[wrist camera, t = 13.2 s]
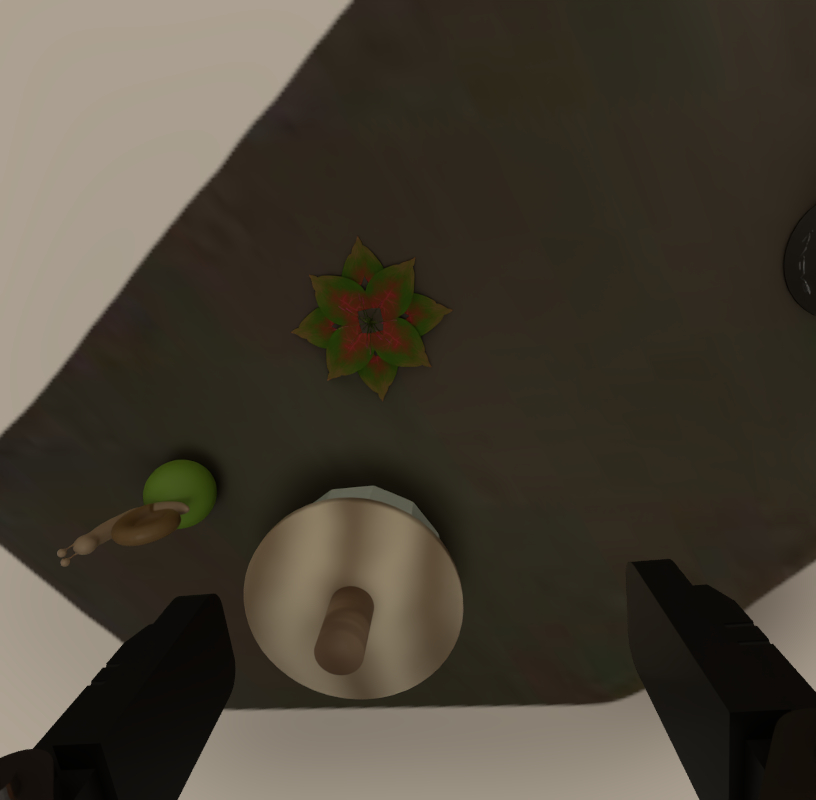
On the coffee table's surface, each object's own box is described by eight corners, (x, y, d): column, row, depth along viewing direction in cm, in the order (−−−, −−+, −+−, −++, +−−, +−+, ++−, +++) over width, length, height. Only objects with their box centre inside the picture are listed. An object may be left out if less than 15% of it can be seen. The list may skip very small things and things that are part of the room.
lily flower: (387, 424, 44) (381, 441, 39) (266, 335, 42) (246, 341, 38) (480, 305, 41) (485, 309, 36) (354, 207, 40) (343, 198, 35)
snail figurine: (146, 457, 45) (42, 521, 34) (218, 446, 44) (138, 508, 33) (164, 515, 46) (69, 597, 35) (234, 506, 46) (162, 586, 34)
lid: (450, 487, 37) (451, 527, 31) (473, 682, 41) (478, 751, 35) (229, 507, 39) (191, 549, 33) (269, 695, 42) (242, 762, 36)
